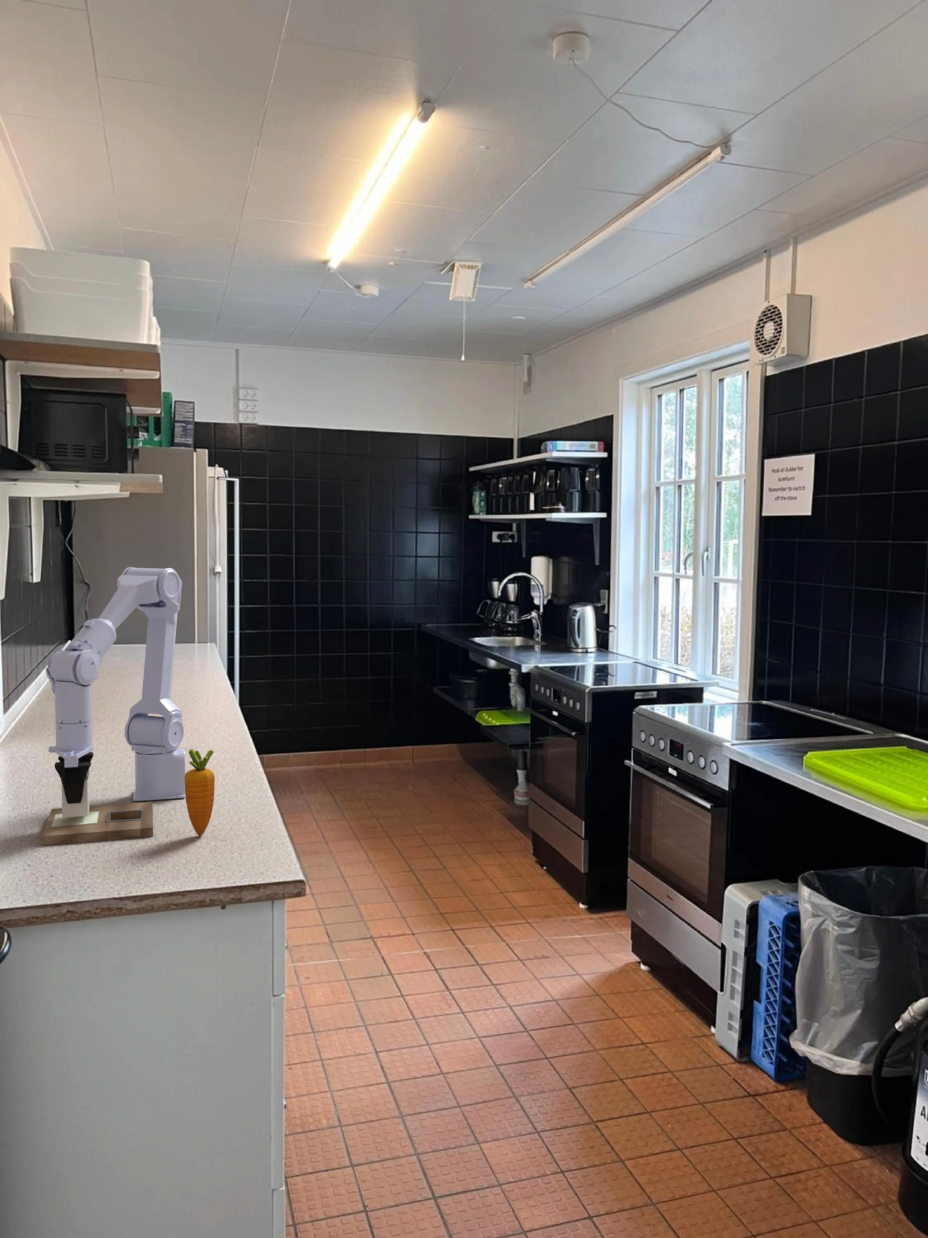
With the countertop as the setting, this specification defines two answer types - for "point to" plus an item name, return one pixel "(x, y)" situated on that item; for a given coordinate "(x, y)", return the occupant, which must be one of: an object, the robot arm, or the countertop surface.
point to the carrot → (199, 791)
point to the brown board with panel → (100, 824)
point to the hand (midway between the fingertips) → (75, 799)
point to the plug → (77, 808)
